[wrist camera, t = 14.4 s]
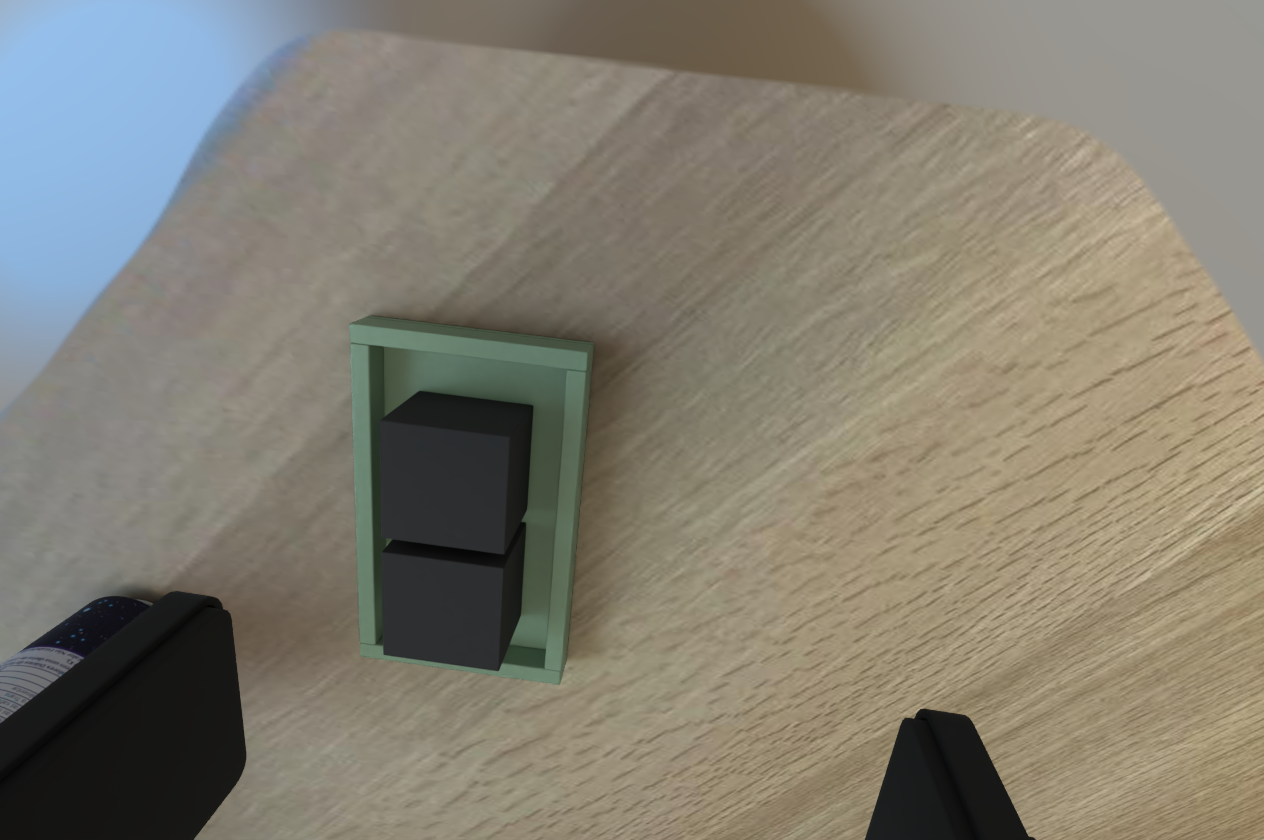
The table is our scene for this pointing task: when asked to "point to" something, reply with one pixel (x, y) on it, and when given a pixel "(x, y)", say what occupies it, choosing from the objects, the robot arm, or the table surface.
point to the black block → (451, 602)
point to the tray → (559, 391)
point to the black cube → (455, 471)
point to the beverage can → (63, 649)
